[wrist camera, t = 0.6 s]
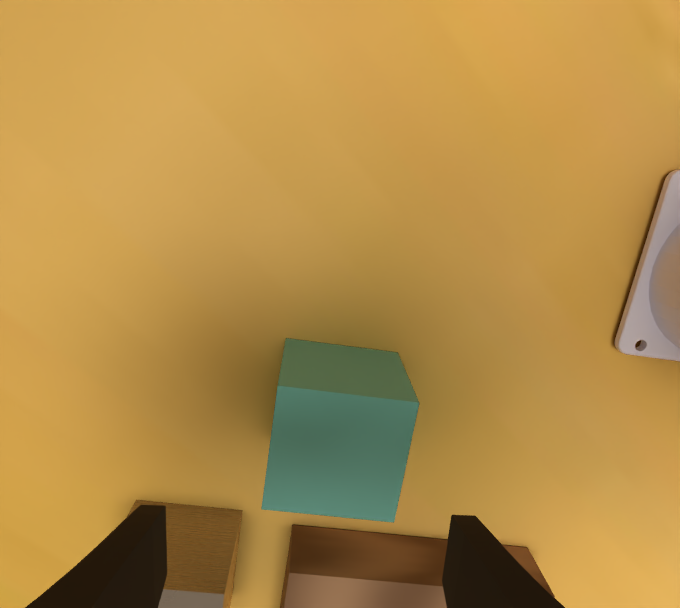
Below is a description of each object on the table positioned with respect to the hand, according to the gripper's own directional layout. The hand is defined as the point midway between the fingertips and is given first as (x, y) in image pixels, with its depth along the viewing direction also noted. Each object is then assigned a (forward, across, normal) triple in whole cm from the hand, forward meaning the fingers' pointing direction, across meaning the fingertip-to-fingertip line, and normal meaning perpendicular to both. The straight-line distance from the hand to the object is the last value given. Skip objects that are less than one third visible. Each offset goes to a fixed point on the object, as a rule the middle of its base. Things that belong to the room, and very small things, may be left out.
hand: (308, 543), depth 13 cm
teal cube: (+10, -1, +1) cm, 10 cm away
